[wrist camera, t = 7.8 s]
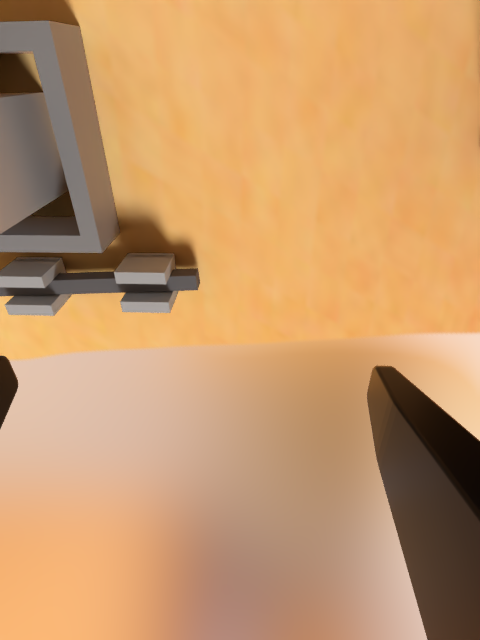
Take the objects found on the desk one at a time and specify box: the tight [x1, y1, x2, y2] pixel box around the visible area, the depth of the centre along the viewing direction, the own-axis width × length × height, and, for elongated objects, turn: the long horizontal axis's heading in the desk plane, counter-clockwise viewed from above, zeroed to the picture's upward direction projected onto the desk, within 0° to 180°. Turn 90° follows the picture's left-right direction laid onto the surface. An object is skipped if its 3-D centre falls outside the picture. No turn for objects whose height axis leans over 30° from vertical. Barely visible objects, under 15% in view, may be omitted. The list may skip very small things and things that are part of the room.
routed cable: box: [0, 253, 200, 316], centre depth 20 cm, size 11×2×2 cm, turn 91°
